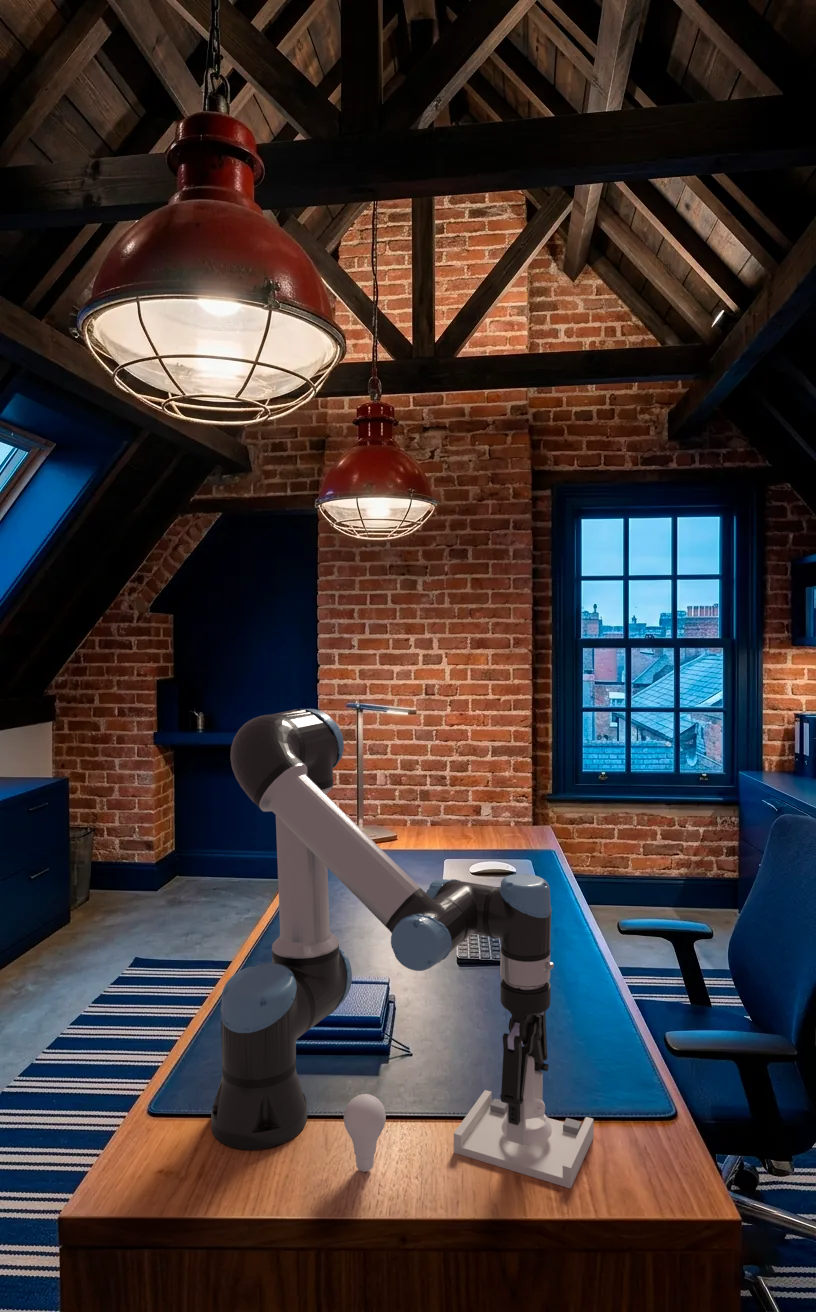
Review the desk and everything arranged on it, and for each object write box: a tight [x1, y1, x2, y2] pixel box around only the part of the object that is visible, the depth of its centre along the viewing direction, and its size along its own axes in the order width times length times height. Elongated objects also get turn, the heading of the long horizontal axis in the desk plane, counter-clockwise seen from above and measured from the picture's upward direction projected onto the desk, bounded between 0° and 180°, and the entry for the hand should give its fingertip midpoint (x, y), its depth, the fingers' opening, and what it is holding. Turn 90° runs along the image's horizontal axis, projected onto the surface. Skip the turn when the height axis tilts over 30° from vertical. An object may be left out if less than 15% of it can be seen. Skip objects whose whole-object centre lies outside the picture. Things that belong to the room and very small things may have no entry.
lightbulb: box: [343, 1093, 387, 1173], centre depth 123 cm, size 6×6×11 cm
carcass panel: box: [453, 1089, 595, 1189], centre depth 129 cm, size 18×13×3 cm
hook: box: [502, 1056, 552, 1144], centre depth 130 cm, size 8×12×7 cm
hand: (525, 1126), depth 129 cm, fingers closed on hook, 8 cm apart
